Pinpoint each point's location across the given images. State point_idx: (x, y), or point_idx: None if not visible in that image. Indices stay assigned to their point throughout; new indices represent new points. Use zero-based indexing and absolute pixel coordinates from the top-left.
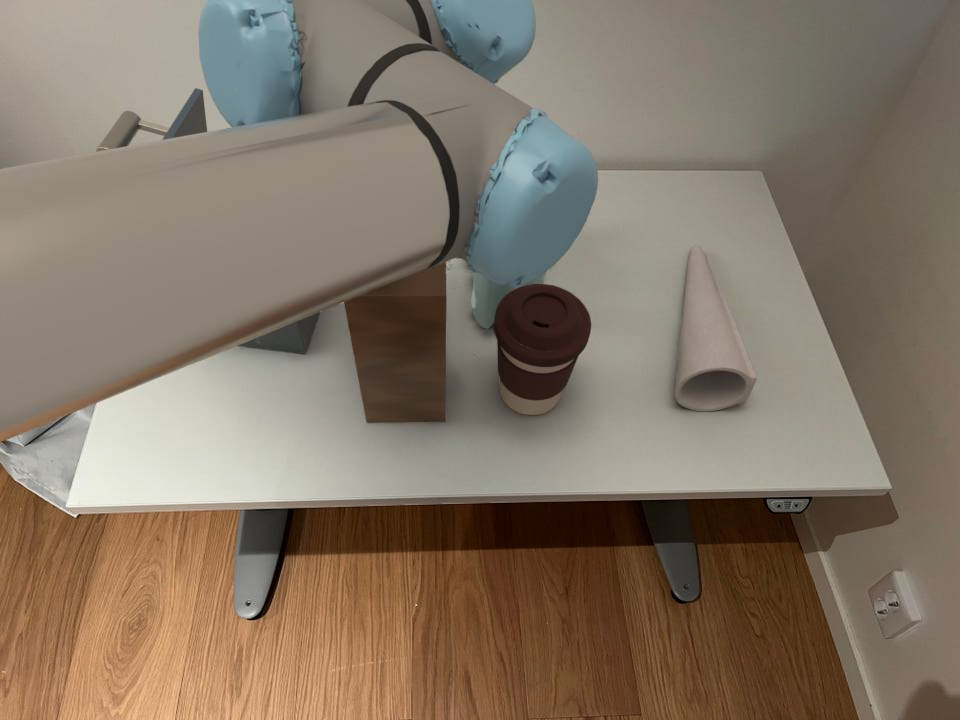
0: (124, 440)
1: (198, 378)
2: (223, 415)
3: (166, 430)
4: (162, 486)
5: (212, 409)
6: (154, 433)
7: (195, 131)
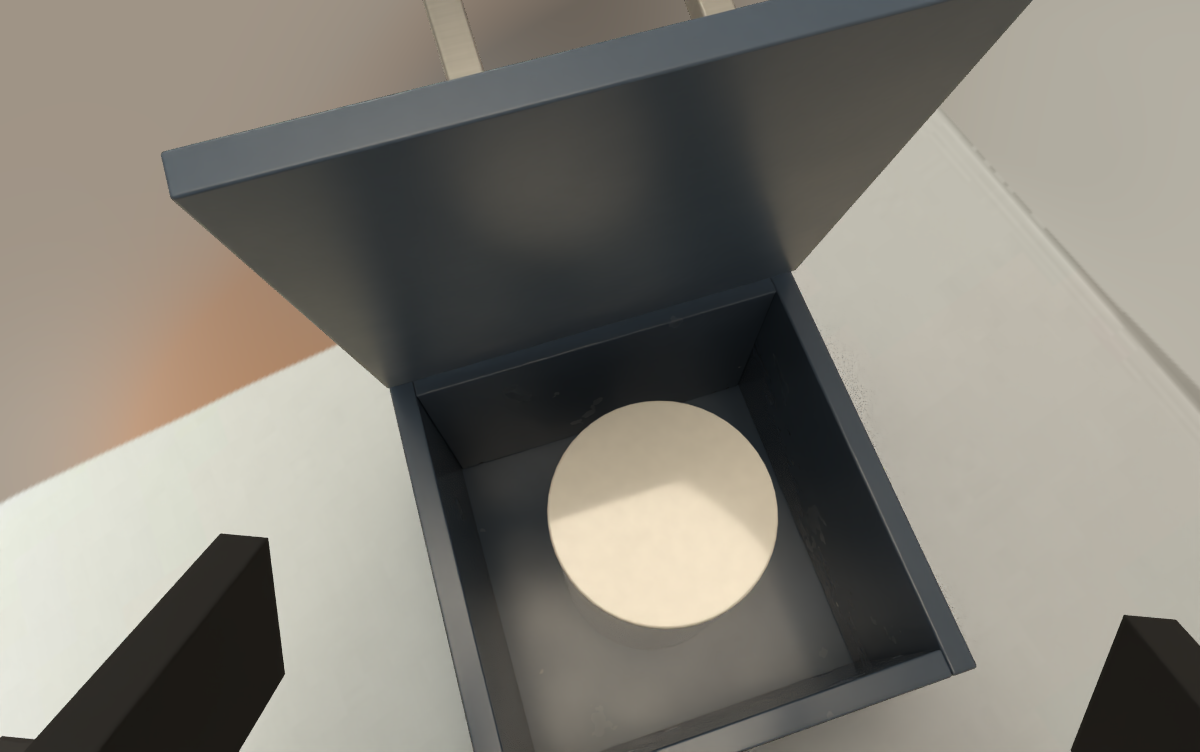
0: (120, 513)
1: (342, 557)
2: None
3: None
4: (18, 689)
5: None
6: (156, 566)
7: (832, 113)
